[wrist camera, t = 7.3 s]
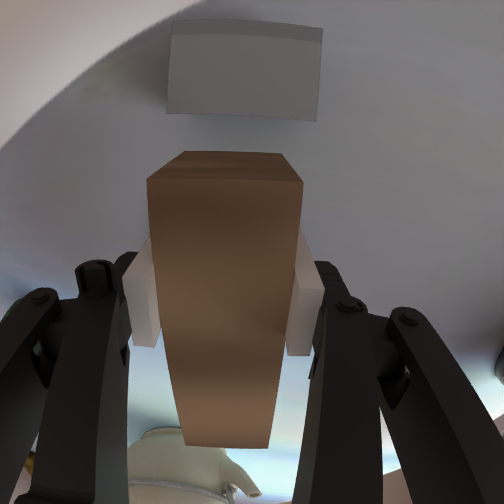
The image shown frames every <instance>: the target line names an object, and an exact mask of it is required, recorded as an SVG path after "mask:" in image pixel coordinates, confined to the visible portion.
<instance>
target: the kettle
mask: <svg viewBox="0 0 504 504" xmlns="http://www.w3.org/2000/svg"><path fill="white" fill-rule="evenodd" d="M127 469H128V490H129V504H236V503H235V501H234V499H235V496H236V493H237V490H238V488H240V489H241V490H242V491H243V492H244V493H245V495H246V496H247V497H249V498H257V497H259V496H261V495H262V493H261V492H260V490H259V489H258V488H257V486H256V485H255V484H254V482H253V481H252V479H251V478H250V477H249V475H248V474H247V473H246V471H245V470H244V469H243V468H242V467H240V466H239V465H238V464H236V463H235V462H233V461H232V460H231V459H230V458H229V457H228V456H227V453H226V450H225V448H214V447H199V446H187V445H185V442H184V438H183V434H182V430H181V428H174V427H163V428H156V429H152V430H150V431H148V432H146V433H145V434H144V435H143V436H142V438H141V439H140V440H138V441H136V442H135V443H133V444H132V445H131V446H129V448H128V449H127Z"/></svg>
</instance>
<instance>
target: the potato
mask: <svg viewBox="0 0 504 504" xmlns="http://www.w3.org/2000/svg"><path fill="white" fill-rule="evenodd" d="M34 458H35V454H34V453H31V452H29V454H28V457H27V459H26V461H25V464H24V467H25V469H26V470H27V471H28V473H29V474H30V475H31V477H32V472H33V464H34Z"/></svg>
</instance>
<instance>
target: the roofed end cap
mask: <svg viewBox="0 0 504 504" xmlns="http://www.w3.org/2000/svg"><path fill="white" fill-rule="evenodd" d="M322 34H323V29H321V28H315V27H308V26H301V25H293V24H285V23H275V22H263V21H247V20H183V21H173V24H172V34H171V45H170V57H169V71H168V87H167V108H166V114H229V115H249V116H264V117H276V118H287V119H297V120H306V121H314V122H316V116H317V105H318V93H319V80H320V66H321V51H322Z"/></svg>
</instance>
